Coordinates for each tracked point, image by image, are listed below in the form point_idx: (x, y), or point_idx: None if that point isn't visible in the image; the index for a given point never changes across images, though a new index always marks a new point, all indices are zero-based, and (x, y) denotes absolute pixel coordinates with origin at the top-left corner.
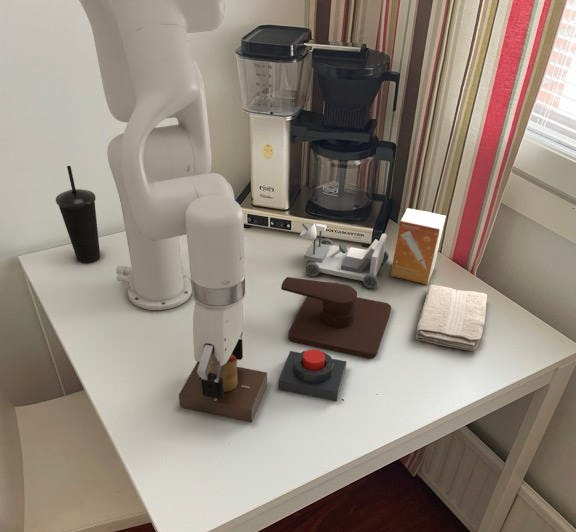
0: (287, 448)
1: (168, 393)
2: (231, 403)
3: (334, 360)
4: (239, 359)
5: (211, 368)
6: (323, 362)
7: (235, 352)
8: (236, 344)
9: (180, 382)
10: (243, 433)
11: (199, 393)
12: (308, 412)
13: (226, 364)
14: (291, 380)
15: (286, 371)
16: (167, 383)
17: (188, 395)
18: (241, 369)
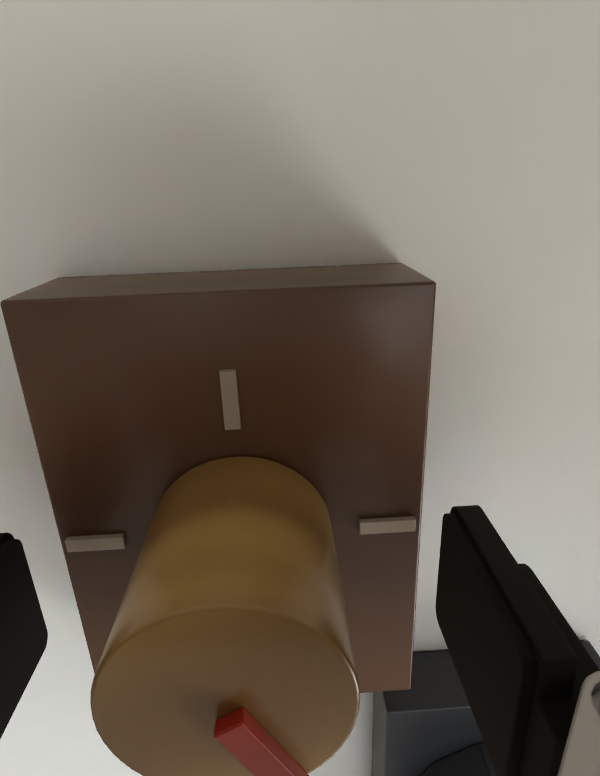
0: (65, 763)
1: (145, 138)
2: (94, 623)
3: None
4: (437, 610)
5: (108, 646)
6: None
7: (459, 637)
8: (492, 730)
9: (275, 173)
10: (54, 619)
11: (84, 433)
12: None
13: (195, 748)
14: (401, 753)
15: (460, 722)
16: (235, 81)
17: (29, 373)
18: (399, 576)
